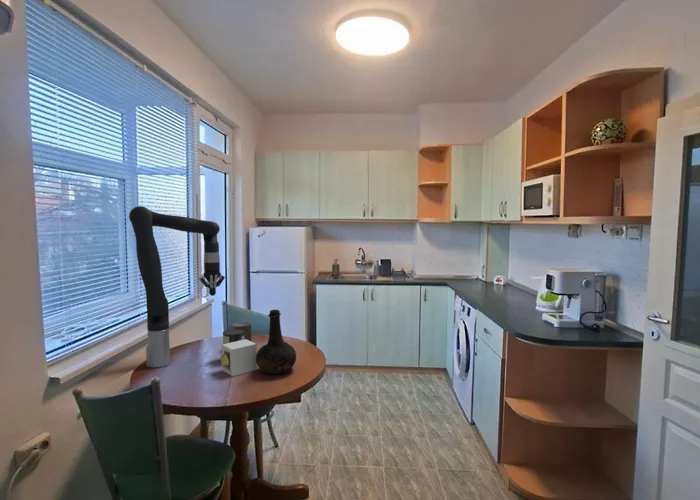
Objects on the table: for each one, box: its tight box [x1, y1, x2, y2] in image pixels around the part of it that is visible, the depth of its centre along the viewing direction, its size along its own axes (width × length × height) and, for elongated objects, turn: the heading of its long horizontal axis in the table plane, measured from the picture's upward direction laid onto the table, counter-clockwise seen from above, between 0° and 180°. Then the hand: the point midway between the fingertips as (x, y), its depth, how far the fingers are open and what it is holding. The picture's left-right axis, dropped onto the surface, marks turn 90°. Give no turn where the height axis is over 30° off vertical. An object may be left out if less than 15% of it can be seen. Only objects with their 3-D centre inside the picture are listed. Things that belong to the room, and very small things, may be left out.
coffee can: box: [222, 328, 245, 344], centre depth 190 cm, size 10×10×14 cm
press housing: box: [221, 339, 258, 377], centre depth 176 cm, size 12×10×12 cm
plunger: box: [220, 353, 230, 368], centre depth 175 cm, size 12×6×6 cm, turn 133°
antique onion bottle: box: [256, 309, 297, 375], centre depth 174 cm, size 18×18×28 cm
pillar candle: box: [232, 321, 252, 342], centre depth 207 cm, size 10×10×15 cm
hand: (212, 295), depth 195 cm, fingers closed
